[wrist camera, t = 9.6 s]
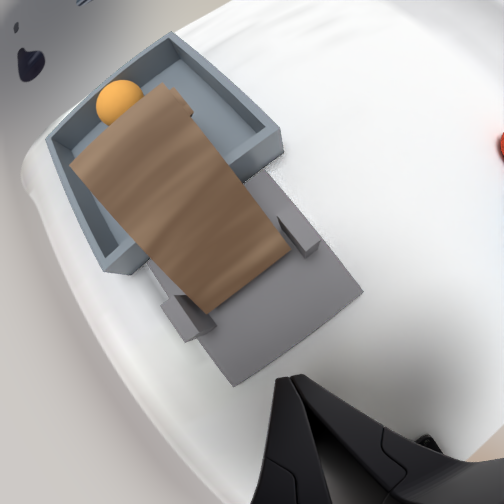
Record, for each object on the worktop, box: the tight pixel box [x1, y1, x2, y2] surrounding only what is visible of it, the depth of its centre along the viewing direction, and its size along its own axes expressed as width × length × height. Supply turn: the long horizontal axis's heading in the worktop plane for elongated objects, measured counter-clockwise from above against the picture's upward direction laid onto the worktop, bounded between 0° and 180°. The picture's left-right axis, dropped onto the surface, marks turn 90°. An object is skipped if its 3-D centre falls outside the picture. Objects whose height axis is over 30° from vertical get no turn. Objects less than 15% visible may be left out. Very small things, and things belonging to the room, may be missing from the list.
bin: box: [45, 31, 284, 275], centre depth 21 cm, size 14×14×4 cm
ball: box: [96, 80, 144, 126], centre depth 21 cm, size 4×4×4 cm
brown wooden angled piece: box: [69, 82, 291, 315], centre depth 18 cm, size 8×7×11 cm
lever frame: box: [147, 169, 363, 387], centre depth 18 cm, size 10×10×4 cm
